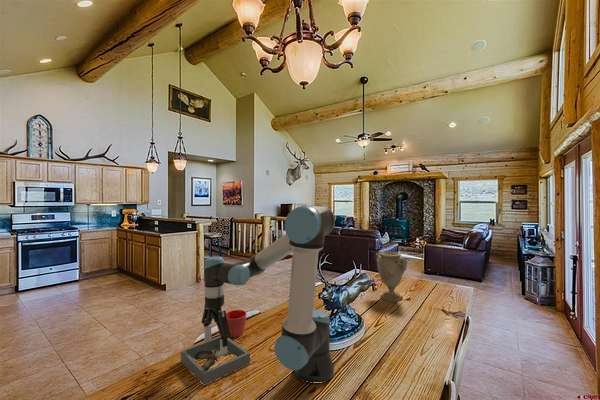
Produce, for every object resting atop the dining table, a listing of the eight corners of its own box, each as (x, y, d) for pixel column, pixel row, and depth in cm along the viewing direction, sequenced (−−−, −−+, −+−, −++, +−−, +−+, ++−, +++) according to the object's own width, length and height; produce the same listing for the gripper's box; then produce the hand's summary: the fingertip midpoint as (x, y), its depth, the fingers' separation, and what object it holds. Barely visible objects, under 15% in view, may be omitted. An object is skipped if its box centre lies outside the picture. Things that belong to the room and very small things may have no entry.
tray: (250, 364, 114) (249, 353, 114) (203, 386, 101) (203, 374, 101) (223, 344, 130) (223, 334, 130) (180, 361, 116) (180, 350, 116)
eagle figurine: (208, 354, 119) (190, 360, 112) (216, 341, 118) (198, 347, 110) (217, 369, 115) (199, 377, 108) (226, 357, 114) (208, 363, 106)
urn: (367, 296, 191) (367, 252, 191) (384, 290, 202) (384, 248, 202) (398, 307, 172) (398, 258, 172) (415, 300, 183) (415, 254, 182)
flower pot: (224, 340, 133) (224, 320, 133) (224, 330, 144) (224, 310, 144) (247, 337, 136) (247, 317, 136) (245, 327, 147) (245, 308, 147)
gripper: (238, 300, 109) (240, 355, 109) (209, 286, 127) (210, 334, 127) (221, 305, 103) (222, 363, 103) (192, 290, 121) (193, 340, 122)
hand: (215, 347), depth 115 cm, fingers open, 13 cm apart
